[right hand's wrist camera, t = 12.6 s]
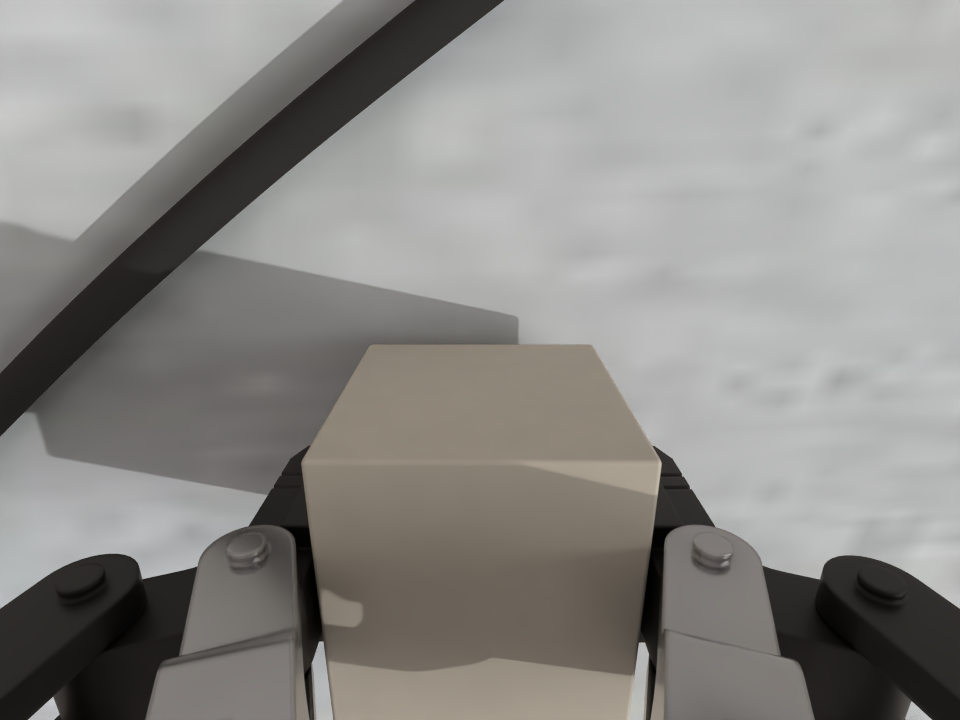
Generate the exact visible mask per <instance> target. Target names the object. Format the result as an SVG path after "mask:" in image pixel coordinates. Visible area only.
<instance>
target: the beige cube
mask: <svg viewBox="0 0 960 720" xmlns="http://www.w3.org/2000/svg"><path fill="white" fill-rule="evenodd" d="M661 465H662V463H661V460H660V458H659V457H658V455H657V453H656V452H655V450H654V448H653V446H652V445H651V443H650V441H649V440H648V438H647V436H646V435H645V433H644V431H643V430H642V428H641V426H640V425H639V423H638V421H637V419H636V418H635V416H634V414H633V413H632V411H631V409H630V408H629V406H628V404H627V403H626V401H625V399H624V398H623V396H622V394H621V392H620V391H619V389H618V387H617V386H616V384H615V382H614V381H613V379H612V377H611V376H610V374H609V372H608V371H607V369H606V367H605V365H604V364H603V362H602V360H601V359H600V357H599V355H598V354H597V352H596V350H595V349H594V347H593V346H592V345H370V346H369V347H368V349H367V350H366V352H365V354H364V355H363V357H362V359H361V361H360V362H359V364H358V366H357V367H356V369H355V371H354V373H353V374H352V376H351V378H350V379H349V381H348V383H347V385H346V386H345V388H344V390H343V391H342V393H341V395H340V396H339V398H338V400H337V402H336V403H335V405H334V407H333V408H332V410H331V412H330V414H329V415H328V417H327V419H326V420H325V422H324V424H323V426H322V427H321V429H320V431H319V432H318V434H317V436H316V438H315V439H314V441H313V443H312V444H311V446H310V448H309V449H308V451H307V453H306V455H305V456H304V458H303V460H302V463H301V466H302V474H303V482H304V490H305V498H306V505H307V513H308V521H309V529H310V537H311V545H312V553H313V561H314V569H315V577H316V585H317V593H318V601H319V609H320V617H321V625H322V633H323V641H324V649H325V657H326V665H327V673H328V681H329V689H330V697H331V705H332V713H333V720H629V715H630V707H631V699H632V691H633V684H634V676H635V668H636V660H637V652H638V645H639V637H640V629H641V621H642V613H643V606H644V598H645V590H646V582H647V575H648V567H649V559H650V551H651V543H652V536H653V528H654V520H655V512H656V504H657V497H658V489H659V481H660V473H661Z"/></svg>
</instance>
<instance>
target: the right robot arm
mask: <svg viewBox="0 0 960 720" xmlns="http://www.w3.org/2000/svg"><path fill="white" fill-rule="evenodd" d="M502 1H504V0H415V1H414V2H413V3H412V4H410V5H409V6H408V7H407V8H405V9H404V10H403V11H402V12H400V13H399V14H398V15H397V16H395V17H394V18H393V19H392V20H391V21H389V22H388V23H387V24H386V25H384V26H383V27H382V28H381V29H379V30H378V31H377V32H376V33H375V34H373V35H372V36H371V37H370V38H368V39H367V40H366V41H365V42H363V43H362V44H361V45H360V46H359V47H357V48H356V49H355V50H354V51H352V52H351V53H350V54H349V55H348V56H346V57H345V58H344V59H343V60H342V61H340V62H339V63H338V64H337V65H335V66H334V67H333V68H332V69H331V70H329V71H328V72H327V73H326V74H325V75H323V76H322V77H321V78H320V79H319V80H317V81H316V82H315V83H314V84H313V85H311V86H310V87H309V88H308V89H307V90H305V91H304V92H303V93H302V94H301V95H299V96H298V97H297V98H296V99H295V100H294V101H292V102H291V103H290V104H289V105H288V106H286V107H285V108H284V109H283V110H282V111H281V112H279V113H278V114H277V115H276V116H275V117H274V118H272V119H271V120H270V121H269V122H268V123H267V124H265V125H264V126H263V127H262V128H261V129H260V130H258V131H257V132H256V133H255V134H254V135H253V136H252V137H250V138H249V139H248V140H247V141H246V142H245V143H244V144H242V145H241V146H240V147H239V148H238V149H237V150H236V151H234V152H233V153H232V154H231V155H230V156H229V157H228V158H226V159H225V160H224V161H223V162H222V163H221V164H220V165H219V166H217V167H216V168H215V169H214V170H213V171H212V172H211V173H210V174H208V175H207V176H206V177H205V178H204V179H203V180H202V181H201V182H199V183H198V184H197V185H196V186H195V187H194V188H193V189H192V190H191V191H190V192H188V193H187V194H186V195H185V196H184V197H183V198H182V199H181V200H180V201H178V202H177V203H176V204H175V205H174V206H173V207H172V208H171V209H170V210H169V211H167V212H166V213H165V214H164V215H163V216H162V217H161V218H160V219H159V220H158V221H157V222H155V223H154V224H153V225H152V226H151V227H150V228H149V229H148V230H147V231H146V232H145V233H144V234H142V235H141V236H140V237H139V238H138V239H137V240H136V241H135V242H134V243H133V244H132V245H131V246H129V247H128V248H127V249H126V250H125V251H124V252H123V253H122V254H121V255H120V256H119V257H118V258H117V259H116V260H114V261H113V262H112V263H111V264H110V265H109V266H108V267H107V268H106V269H105V270H104V271H103V272H102V273H101V274H100V275H99V276H98V277H97V278H95V279H94V280H93V281H92V282H91V283H90V284H89V285H88V286H87V287H86V288H85V289H84V290H83V291H82V292H81V293H80V294H79V295H78V296H77V297H76V298H75V299H74V300H73V301H72V302H71V303H70V304H69V305H68V306H66V307H65V308H64V309H63V310H62V311H61V312H60V313H59V314H58V315H57V316H56V317H55V318H54V319H53V320H52V321H51V322H50V323H49V324H48V325H47V326H46V327H45V328H44V329H43V330H42V331H41V332H40V333H39V334H38V335H37V336H36V337H35V338H34V339H33V340H32V341H31V342H30V343H29V345H28V346H27V347H26V348H25V349H24V350H23V351H22V352H21V353H20V354H19V355H18V356H17V357H16V358H15V359H14V360H13V361H12V362H11V363H10V364H9V365H8V366H7V367H6V368H5V369H4V370H3V371H2V372H1V373H0V436H1V435H2V434H3V433H4V432H5V431H6V430H7V429H8V428H9V427H10V426H11V425H12V424H13V423H14V422H15V421H16V420H17V419H18V418H19V417H20V416H21V415H22V414H23V413H24V412H25V411H26V410H27V409H28V408H29V407H30V406H31V405H32V404H33V403H34V402H35V401H36V400H37V399H38V398H39V397H40V396H41V395H42V394H43V393H44V392H45V391H46V390H47V389H48V388H49V387H50V386H51V385H52V384H53V383H54V382H55V381H56V380H57V379H58V378H59V377H60V376H61V375H62V374H63V373H64V372H65V371H66V370H67V369H68V368H69V367H70V366H71V365H72V364H73V363H74V362H75V361H76V360H77V359H78V358H79V357H80V356H81V355H82V354H83V353H84V352H85V351H86V350H87V349H89V348H90V347H91V346H92V345H93V344H94V343H95V342H96V341H97V340H98V339H99V338H100V337H101V336H102V335H103V334H104V333H105V332H106V331H107V330H109V329H110V328H111V327H112V326H113V325H114V324H115V323H116V322H117V321H118V320H119V319H120V318H121V317H123V316H124V315H125V314H126V313H127V312H128V311H129V310H130V309H131V308H132V307H133V306H135V305H136V304H137V303H138V302H139V301H140V300H141V299H142V298H143V297H144V296H145V295H147V294H148V293H149V292H150V291H151V290H152V289H153V288H154V287H155V286H157V285H158V284H159V283H160V282H161V281H162V280H163V279H164V278H165V277H167V276H168V275H169V274H170V273H171V272H172V271H173V270H174V269H176V268H177V267H178V266H179V265H180V264H181V263H182V262H183V261H185V260H186V259H187V258H188V257H189V256H190V255H191V254H193V253H194V252H195V251H196V250H197V249H198V248H199V247H200V246H202V245H203V244H204V243H205V242H206V241H207V240H208V239H210V238H211V237H212V236H213V235H214V234H215V233H216V232H218V231H219V230H220V229H221V228H222V227H223V226H225V225H226V224H227V223H228V222H229V221H230V220H231V219H233V218H234V217H235V216H236V215H237V214H238V213H240V212H241V211H242V210H243V209H244V208H245V207H247V206H248V205H249V204H250V203H251V202H252V201H254V200H255V199H256V198H257V197H258V196H259V195H261V194H262V193H263V192H264V191H265V190H267V189H268V188H269V187H270V186H271V185H272V184H274V183H275V182H276V181H277V180H278V179H280V178H281V177H282V176H283V175H284V174H285V173H287V172H288V171H289V170H290V169H292V168H293V167H294V166H295V165H296V164H298V163H299V162H300V161H301V160H302V159H304V158H305V157H306V156H307V155H308V154H310V153H311V152H312V151H313V150H315V149H316V148H317V147H318V146H319V145H321V144H322V143H323V142H324V141H326V140H327V139H328V138H329V137H330V136H332V135H333V134H334V133H335V132H337V131H338V130H339V129H340V128H342V127H343V126H344V125H345V124H347V123H348V122H349V121H350V120H351V119H353V118H354V117H355V116H357V115H358V114H359V113H360V112H362V111H363V110H364V109H365V108H367V107H368V106H369V105H370V104H372V103H373V102H374V101H375V100H377V99H378V98H379V97H380V96H382V95H383V94H384V93H385V92H387V91H388V90H389V89H391V88H392V87H393V86H394V85H396V84H397V83H398V82H399V81H401V80H402V79H403V78H405V77H406V76H407V75H408V74H410V73H411V72H412V71H414V70H415V69H416V68H417V67H419V66H420V65H421V64H422V63H424V62H425V61H426V60H428V59H429V58H430V57H431V56H433V55H434V54H435V53H437V52H438V51H439V50H440V49H442V48H443V47H444V46H446V45H447V44H448V43H449V42H451V41H452V40H453V39H455V38H456V37H457V36H459V35H460V34H461V33H462V32H464V31H465V30H466V29H468V28H469V27H470V26H471V25H473V24H474V23H475V22H477V21H478V20H479V19H480V18H482V17H483V16H484V15H486V14H487V13H488V12H490V11H491V10H492V9H493V8H495V7H496V6H497V5H499V4H500V3H501V2H502ZM309 448H310V446H308V447H306V448H305V449H303V450H302V451H301V452H299V453H298V454H296V455H295V456H294V457H292V458H291V459H290V461H289V462H288V464H287V466H286V467H285V469H284V470H283V472H282V476H280V477H279V478H278V480H277V482H276V483H275V485H274V489H272V490H271V491H270V493H269V494H268V496H267V498H266V499H265V501H264V502H263V504H262V506H261V507H260V509H259V511H258V512H257V514H256V515H255V517H254V519H253V520H252V522H251V523H250V525H249V527H244V528H241V529H238V530H235V531H232V532H230V533H228V534H226V535H224V536H222V537H220V538H219V539H217V540H216V541H214V542H213V543H212V544H211V545H209V546H208V547H207V548H206V550H205V551H204V552H203V554H202V555H201V557H200V559H199V562H198V566H197V567H195V568H191V569H187V570H183V571H179V572H174V573H169V574H165V575H160V576H156V577H151V578H146V579H142V576H141V572H140V568H139V565H138V563H137V562H136V561H135V559H133V558H131V557H129V556H126V555H121V554H103V555H97V556H92V557H88V558H85V559H81V560H79V561H76V562H73V563H71V564H68V565H66V566H64V567H62V568H60V569H58V570H56V571H54V572H53V573H51V574H50V575H48V576H46V577H45V578H43V579H42V580H41V581H39V582H38V583H36V584H35V585H34V586H32V587H31V588H29V589H28V590H26V591H25V592H24V593H22V594H21V595H19V596H18V597H17V598H15V599H14V600H12V601H11V602H9V603H8V604H7V605H5V606H4V607H2V608H1V609H0V720H28V719H29V718H30V717H31V716H32V715H33V714H34V713H36V712H37V711H38V710H39V709H40V708H41V707H42V706H43V705H44V704H45V703H47V702H48V701H49V700H50V699H51V698H52V697H54V700H55V702H56V705H57V708H58V711H59V713H60V715H59V716H58V717H57V718H56V719H55V720H316V705H315V689H314V674H313V667H312V661H313V658H314V655H315V652H316V649H317V646H318V643H319V641H323V633H322V625H321V617H320V609H319V601H318V593H317V585H316V577H315V569H314V561H313V553H312V545H311V537H310V529H309V521H308V513H307V505H306V498H305V490H304V482H303V474H302V466H301V463H302V460H303V458H304V456H305V455H306V453H307V451H308V449H309ZM653 448H654V450H655V452H656V453H657V455H658V457H659V458H660V460H661V463H662V465H661V473H660V481H659V489H658V497H657V504H656V512H655V520H654V528H653V536H652V543H651V551H650V559H649V567H648V575H647V582H646V590H645V598H644V606H643V613H642V621H641V629H640V637H639V642H645V643H646V646H647V649H648V652H649V659H648V667H647V674H646V689H645V706H644V720H905V717H906V714H907V711H908V709H909V706H910V703H911V701H912V702H914V703H915V704H916V705H917V706H918V707H919V708H920V709H921V710H922V711H923V712H924V713H926V714H927V715H928V716H929V717H930V718H931V719H932V720H960V609H959V608H958V607H956V606H955V605H953V604H952V603H951V602H949V601H948V600H946V599H945V598H944V597H942V596H941V595H939V594H938V593H936V592H935V591H934V590H932V589H931V588H929V587H928V586H926V585H925V584H924V583H922V582H921V581H919V580H918V579H916V578H915V577H913V576H912V575H910V574H909V573H907V572H905V571H903V570H901V569H899V568H897V567H895V566H892V565H890V564H887V563H885V562H882V561H879V560H875V559H872V558H867V557H862V556H838V557H835V558H832V559H830V560H829V561H827V562H826V564H825V565H824V567H823V571H822V575H821V578H820V580H819V579H814V578H809V577H805V576H800V575H796V574H791V573H786V572H782V571H778V570H774V569H770V568H767V567H765V566H762V562H761V559H760V557H759V555H758V554H757V552H756V551H755V550H754V548H753V547H752V546H751V545H749V544H748V543H747V542H746V541H744V540H743V539H741V538H740V537H738V536H736V535H734V534H732V533H730V532H728V531H725V530H722V529H719V528H716V527H715V526H714V524H713V522H712V521H711V519H710V518H709V516H708V514H707V513H706V511H705V510H704V508H703V507H702V505H701V503H700V502H699V500H698V499H697V497H696V495H695V494H694V492H693V491H692V489H690V486H689V484H688V483H687V481H686V480H685V478H684V477H682V473H681V472H680V470H679V469H678V467H677V465H676V464H675V462H674V461H673V459H672V458H670V457H669V456H668V455H666V454H665V453H663V452H662V451H661V450H659V449H658V448H656V447H655V446H653Z"/></svg>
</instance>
